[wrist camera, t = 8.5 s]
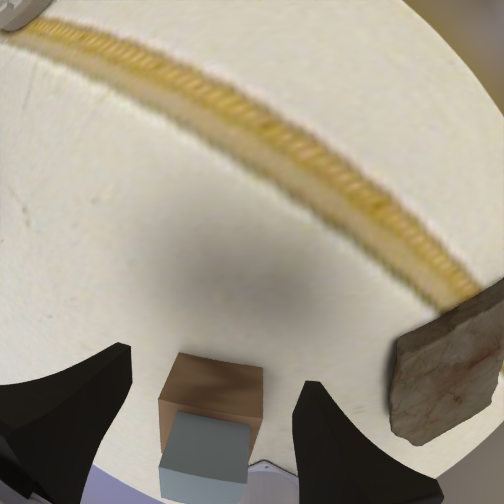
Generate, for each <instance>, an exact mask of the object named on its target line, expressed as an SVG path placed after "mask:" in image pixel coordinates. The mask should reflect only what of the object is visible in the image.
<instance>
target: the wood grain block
mask: <svg viewBox="0 0 504 504" xmlns="http://www.w3.org/2000/svg"><path fill="white" fill-rule="evenodd" d="M158 405H159V425H160V440H161V453H163V452H164V449H165V446H166V442H167V439H168V436H169V433H170V430H171V427H172V424H173V422H174V419H175V416H176V413H177V411H180V412H184V413H188V414H193V415H197V416H202V417H207V418H211V419H217V420H222V421H227V422H233V423H239V424H246V425H250V441H249V459H250V456H251V453H252V450H253V447H254V444H255V441H256V438H257V435H258V432H259V429H260V426H261V422H262V419H263V368H261V367H254V366H248V365H241V364H235V363H229V362H223V361H218V360H212V359H207V358H202V357H197V356H192V355H188V354H183V353H178V355H177V358H176V360H175V362H174V364H173V367H172V369H171V371H170V373H169V376H168V378H167V380H166V382H165V385H164V387H163V389H162V392H161V394H160V396H159V398H158ZM248 462H249V460H248Z"/></svg>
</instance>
